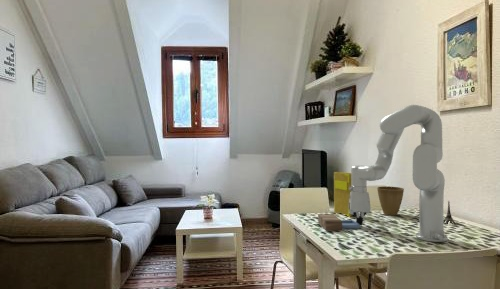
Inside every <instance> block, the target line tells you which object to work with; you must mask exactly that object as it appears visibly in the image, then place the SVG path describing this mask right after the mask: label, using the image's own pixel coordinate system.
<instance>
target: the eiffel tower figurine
mask: <svg viewBox="0 0 500 289" xmlns="http://www.w3.org/2000/svg"><path fill="white" fill-rule="evenodd" d="M447 203H448V204H447V213H446V216H445V217H444V222H445V221H446V224H448V222H449V221H450V223H452V222H453V223H454V225H453V226H457V224H458V223H455V222H456V221H455V220H454V218H453V217H452V214H451V209H450V208H451V206H450V205H451V204H450V203H451V202H450V200H448V201H447ZM446 224H445V225H446Z"/></svg>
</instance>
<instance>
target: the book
mask: <svg viewBox="0 0 500 289" xmlns="http://www.w3.org/2000/svg"><path fill="white" fill-rule="evenodd" d="M349 187H351V172H345V171H334V172H333V200H334V201H333V205H334V206H333V212H334V213H335V214H338V213H342V214H345V215H347V216H352V217H353V215H354V214H350V213H349V196H350V192H351V190H349ZM345 215H344V216H345ZM347 216H346V217H347Z"/></svg>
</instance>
